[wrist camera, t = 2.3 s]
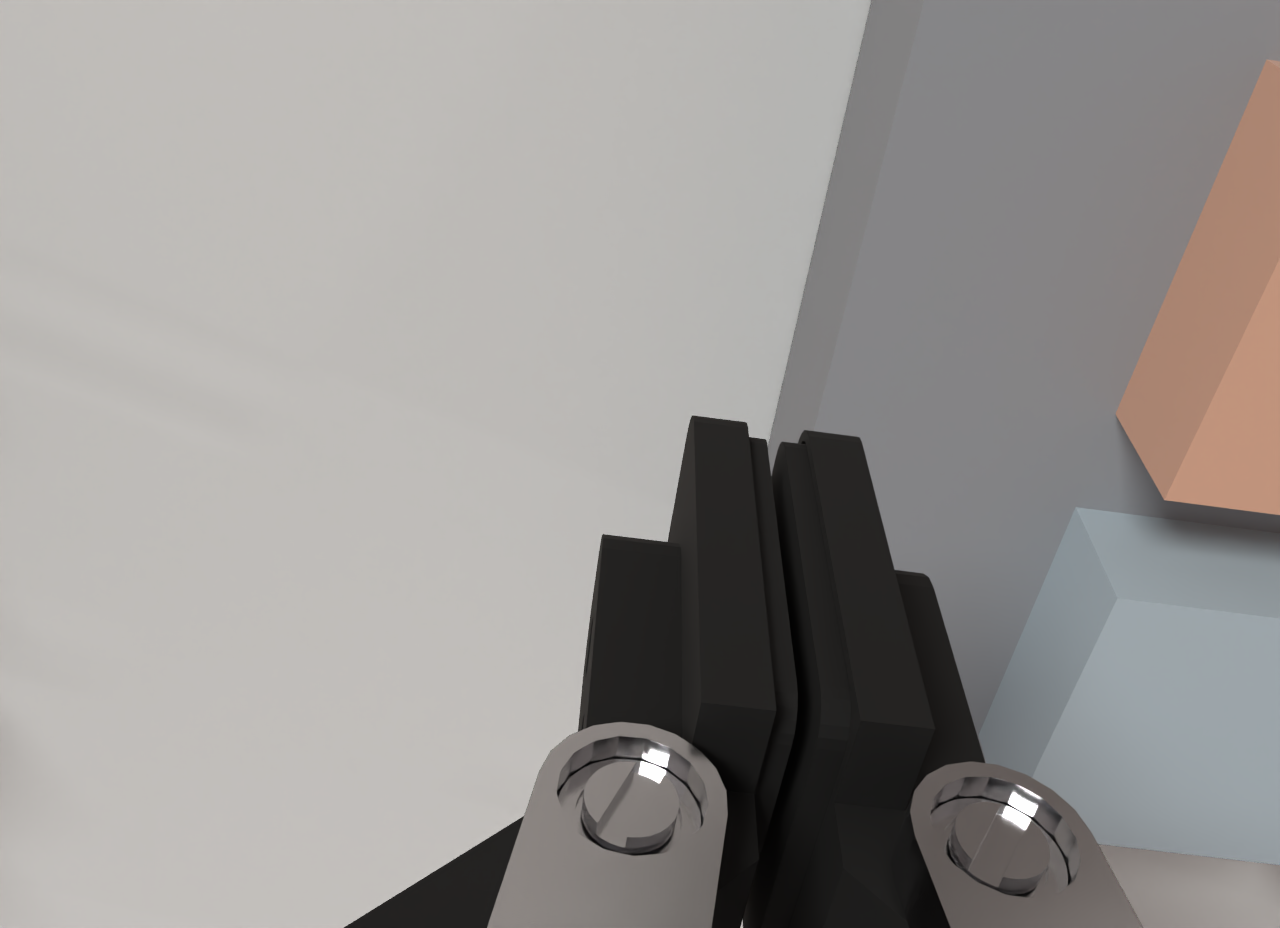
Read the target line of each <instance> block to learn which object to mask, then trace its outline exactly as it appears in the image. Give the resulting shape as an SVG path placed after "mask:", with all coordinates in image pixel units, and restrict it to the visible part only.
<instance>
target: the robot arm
mask: <svg viewBox="0 0 1280 928" xmlns="http://www.w3.org/2000/svg"><path fill="white" fill-rule="evenodd" d="M742 919H743V928H1143V926H1142V925H1141V923H1140V921H1139V919H1138V917H1137V915H1136V913H1135V912H1134V910H1133V908H1132V906H1131V904H1130V902H1129V901H1128V899H1127V897H1126V895H1125V893H1124V891H1123V889H1122V888H1121V886H1120V884H1119V882H1118V880H1117V878H1116V877H1115V875H1114V873H1113V871H1112V869H1111V867H1110V865H1109V864H1108V862H1107V860H1106V858H1105V856H1104V854H1103V853H1102V851H1101V849H1100V847H1099V845H1098V843H1097V841H1096V840H1095V838H1094V836H1093V834H1092V832H1091V831H1090V830H1089V828H1088V827H1087V825H1086V824H1085V823H1084V821H1083V820H1082V819H1081V817H1080V816H1079V814H1078V813H1077V812H1076V810H1075V809H1074V808H1073V807H1071V806H1070V805H1069V804H1068V803H1067V802H1066V801H1065V800H1064V799H1062V798H1061V797H1060V796H1059V795H1058V794H1057V793H1056V792H1054V791H1053V790H1052V789H1050V788H1049V787H1047V786H1045V785H1043V784H1042V783H1040V782H1038V781H1037V780H1035V779H1033V778H1031V777H1030V776H1028V775H1026V774H1023V773H1021V772H1018V771H1015V770H1012V769H1009V768H1006V767H1003V766H1000V765H996V764H988V763H985V760H984V757H983V753H982V750H981V746H980V743H979V740H978V736H977V733H976V730H975V726H974V723H973V719H972V716H971V713H970V709H969V706H968V702H967V699H966V696H965V692H964V689H963V685H962V682H961V679H960V675H959V672H958V668H957V665H956V662H955V658H954V655H953V651H952V648H951V645H950V641H949V638H948V634H947V631H946V628H945V624H944V621H943V618H942V614H941V611H940V607H939V604H938V601H937V597H936V594H935V590H934V587H933V585H932V583H931V581H930V578H929V577H928V576H926V575H925V574H924V573H917V572H908V571H900V570H895V569H894V566H893V562H892V558H891V554H890V550H889V546H888V542H887V538H886V534H885V530H884V526H883V522H882V519H881V515H880V511H879V507H878V503H877V499H876V495H875V491H874V487H873V483H872V479H871V475H870V472H869V468H868V464H867V460H866V456H865V452H864V448H863V444H862V441H861V439H860V437H857V436H849V435H841V434H833V433H825V432H817V431H809V430H804V431H803V432H802V434H801V436H800V438H799V441H798V443H790V442H783V441H782V442H781V443H780V445H779V448H778V451H777V454H776V458H775V463H774V467H773V471H772V476H771V471H770V463H769V455H768V447H767V442H766V440H765V439H759V438H751V437H749V434H748V426H747V423H745V422H739V421H731V420H723V419H715V418H707V417H699V416H692V417H691V420H690V423H689V428H688V433H687V438H686V443H685V449H684V454H683V460H682V465H681V471H680V477H679V482H678V488H677V493H676V499H675V504H674V510H673V515H672V521H671V526H670V532H669V538H668V542H662V541H653V540H645V539H637V538H629V537H621V536H612V535H604V534H603V535H602V539H601V545H600V551H599V558H598V565H597V572H596V579H595V586H594V593H593V600H592V608H591V615H590V623H589V631H588V640H587V648H586V657H585V666H584V676H583V686H582V696H581V707H580V717H579V728H578V732H576V733H574V734H571V735H569V736H568V737H567V738H566V739H564V740H563V741H562V742H561V743H560V744H558V745H557V746H556V747H555V748H554V749H552V750H551V751H550V753H549V755H548V756H547V758H546V760H545V762H544V763H543V765H542V767H541V769H540V770H539V773H538V776H537V779H536V782H535V785H534V788H533V791H532V794H531V797H530V800H529V803H528V806H527V809H526V812H525V815H524V816H523V817H522V818H520V819H519V820H517V821H515V822H514V823H512V824H510V825H509V826H507V827H506V828H504V829H502V830H501V831H499V832H498V833H496V834H494V835H493V836H491V837H489V838H488V839H486V840H485V841H483V842H481V843H480V844H478V845H477V846H475V847H473V848H472V849H470V850H468V851H467V852H465V853H464V854H462V855H460V856H459V857H457V858H456V859H454V860H452V861H451V862H449V863H448V864H446V865H444V866H443V867H441V868H439V869H438V870H436V871H435V872H433V873H431V874H430V875H428V876H427V877H425V878H423V879H422V880H420V881H418V882H417V883H415V884H414V885H412V886H410V887H409V888H407V889H406V890H404V891H402V892H401V893H399V894H397V895H396V896H394V897H393V898H391V899H389V900H388V901H386V902H385V903H383V904H381V905H380V906H378V907H376V908H375V909H373V910H372V911H370V912H368V913H367V914H365V915H364V916H362V917H360V918H359V919H357V920H356V921H354V922H352V923H351V924H349V925H347V926H346V927H344V928H740V926H741V922H742Z"/></svg>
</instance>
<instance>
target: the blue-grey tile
mask: <svg viewBox="0 0 1280 928" xmlns="http://www.w3.org/2000/svg"><path fill="white" fill-rule="evenodd" d="M979 739H980V742H981V746H982V750H983V754H984V757H985V761H986V763H988V764H996V765H1000V766H1003V767H1006V768H1009V769H1012V770H1015V771H1018V772H1021V773H1023V774H1026V775H1028V776H1030V777H1031V778H1033V779H1035V780H1037V781H1038V782H1040V783H1042V784H1043V785H1045V786H1047V787H1049V788H1050V789H1052V790H1053V791H1054V792H1056V793H1057V794H1058V795H1059V796H1060V797H1061V798H1062V799H1064V800H1065V801H1066V802H1067V803H1068V804H1069V805H1070V806H1071V807H1073V808H1074V809H1075V810H1076V812H1077V813H1078V814H1079V816H1080V817H1081V819H1082V820H1083V821H1084V823H1085V824H1086V825H1087V827H1088V828H1089V830H1090V831H1091V832H1092V834H1093V836H1094V838H1095V840H1096V841H1097V843H1098V844H1101V845H1109V846H1118V847H1127V848H1135V849H1144V850H1153V851H1161V852H1170V853H1179V854H1187V855H1196V856H1205V857H1213V858H1222V859H1231V860H1239V861H1248V862H1257V863H1265V864H1274V865H1280V533H1273V532H1265V531H1257V530H1250V529H1242V528H1234V527H1226V526H1219V525H1211V524H1203V523H1195V522H1187V521H1180V520H1172V519H1164V518H1156V517H1149V516H1141V515H1133V514H1125V513H1117V512H1110V511H1102V510H1094V509H1086V508H1079V507H1076V508H1075V510H1074V512H1073V515H1072V517H1071V519H1070V522H1069V524H1068V526H1067V529H1066V531H1065V533H1064V536H1063V538H1062V540H1061V543H1060V545H1059V547H1058V550H1057V552H1056V555H1055V557H1054V559H1053V562H1052V564H1051V566H1050V569H1049V571H1048V573H1047V576H1046V578H1045V580H1044V583H1043V585H1042V587H1041V590H1040V592H1039V594H1038V597H1037V599H1036V601H1035V604H1034V606H1033V608H1032V611H1031V613H1030V616H1029V618H1028V620H1027V623H1026V625H1025V627H1024V630H1023V632H1022V634H1021V637H1020V639H1019V641H1018V644H1017V646H1016V648H1015V651H1014V653H1013V655H1012V658H1011V660H1010V662H1009V665H1008V667H1007V669H1006V672H1005V674H1004V677H1003V679H1002V681H1001V684H1000V686H999V688H998V691H997V693H996V695H995V698H994V700H993V702H992V705H991V707H990V709H989V712H988V714H987V716H986V719H985V721H984V723H983V726H982V728H981V730H980V733H979Z"/></svg>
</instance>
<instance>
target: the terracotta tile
mask: <svg viewBox="0 0 1280 928" xmlns="http://www.w3.org/2000/svg"><path fill="white" fill-rule="evenodd" d="M1116 416H1117V418H1118V420H1119V421H1120V423H1121V425H1122V427H1123V428H1124V430H1125V432H1126V434H1127V435H1128V437H1129V439H1130V441H1131V442H1132V444H1133V446H1134V448H1135V449H1136V451H1137V453H1138V455H1139V456H1140V458H1141V460H1142V462H1143V464H1144V465H1145V467H1146V469H1147V471H1148V472H1149V474H1150V476H1151V478H1152V479H1153V481H1154V483H1155V485H1156V486H1157V488H1158V490H1159V492H1160V493H1161V495H1162V497H1163V499H1164V500H1167V501H1175V502H1183V503H1190V504H1198V505H1206V506H1214V507H1221V508H1229V509H1237V510H1244V511H1252V512H1260V513H1268V514H1275V515H1280V61H1275V60H1268V59H1267V60H1266V62H1265V64H1264V67H1263V69H1262V71H1261V74H1260V76H1259V78H1258V81H1257V83H1256V85H1255V88H1254V90H1253V92H1252V95H1251V97H1250V99H1249V102H1248V104H1247V107H1246V109H1245V111H1244V114H1243V116H1242V118H1241V121H1240V123H1239V125H1238V128H1237V130H1236V132H1235V135H1234V137H1233V139H1232V142H1231V144H1230V146H1229V149H1228V151H1227V153H1226V156H1225V158H1224V160H1223V163H1222V165H1221V168H1220V170H1219V172H1218V175H1217V177H1216V179H1215V182H1214V184H1213V186H1212V189H1211V191H1210V193H1209V196H1208V198H1207V200H1206V203H1205V205H1204V207H1203V210H1202V212H1201V214H1200V217H1199V219H1198V221H1197V224H1196V226H1195V228H1194V231H1193V233H1192V236H1191V238H1190V240H1189V243H1188V245H1187V247H1186V250H1185V252H1184V254H1183V257H1182V259H1181V261H1180V264H1179V266H1178V268H1177V271H1176V273H1175V275H1174V278H1173V280H1172V282H1171V285H1170V287H1169V289H1168V292H1167V294H1166V297H1165V299H1164V301H1163V304H1162V306H1161V308H1160V311H1159V313H1158V315H1157V318H1156V320H1155V322H1154V325H1153V327H1152V329H1151V332H1150V334H1149V336H1148V339H1147V341H1146V343H1145V346H1144V348H1143V350H1142V353H1141V355H1140V357H1139V360H1138V362H1137V365H1136V367H1135V369H1134V372H1133V374H1132V376H1131V379H1130V381H1129V383H1128V386H1127V388H1126V390H1125V393H1124V395H1123V397H1122V400H1121V402H1120V404H1119V407H1118V409H1117V411H1116Z"/></svg>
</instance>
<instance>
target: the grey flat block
mask: <svg viewBox="0 0 1280 928" xmlns="http://www.w3.org/2000/svg"><path fill="white" fill-rule="evenodd" d="M1267 59H1268V60H1275V61H1280V0H872V1H871V5H870V9H869V13H868V18H867V22H866V26H865V31H864V35H863V39H862V44H861V48H860V52H859V57H858V61H857V65H856V69H855V74H854V78H853V82H852V87H851V91H850V95H849V100H848V104H847V108H846V113H845V117H844V121H843V125H842V130H841V134H840V138H839V143H838V147H837V151H836V156H835V160H834V164H833V169H832V173H831V177H830V181H829V186H828V190H827V194H826V199H825V203H824V207H823V212H822V216H821V220H820V225H819V229H818V233H817V238H816V242H815V246H814V250H813V255H812V259H811V263H810V268H809V272H808V276H807V281H806V285H805V289H804V294H803V298H802V302H801V306H800V311H799V315H798V319H797V324H796V328H795V332H794V337H793V341H792V345H791V350H790V354H789V358H788V362H787V367H786V371H785V375H784V380H783V384H782V388H781V393H780V397H779V401H778V406H777V410H776V414H775V418H774V423H773V427H772V431H771V436H770V440H769V444H768V455H769V463H770V471H771V476H772V471H773V467H774V463H775V458H776V454H777V451H778V448H779V445H780V443H781V442H782V441H783V442H790V443H798V441H799V438H800V436H801V434H802V432H803V431H804V430H809V431H817V432H825V433H833V434H841V435H849V436H857V437H860V439H861V441H862V444H863V448H864V452H865V456H866V460H867V464H868V468H869V472H870V475H871V479H872V483H873V487H874V491H875V495H876V499H877V503H878V507H879V511H880V515H881V519H882V522H883V526H884V530H885V534H886V538H887V542H888V546H889V550H890V554H891V558H892V562H893V566H894V569H895V570H900V571H908V572H917V573H924V574H925V575H926V576H928V577H929V578H930V581H931V583H932V585H933V587H934V590H935V594H936V597H937V601H938V604H939V607H940V611H941V614H942V618H943V621H944V624H945V628H946V631H947V634H948V638H949V641H950V645H951V648H952V651H953V655H954V658H955V662H956V665H957V668H958V672H959V675H960V679H961V682H962V685H963V689H964V692H965V696H966V699H967V702H968V706H969V709H970V713H971V716H972V719H973V723H974V726H975V730H976V733H977V736H978V740H979V743H980V746H981V742H980V739H979V733H980V730H981V728H982V726H983V723H984V721H985V719H986V716H987V714H988V712H989V709H990V707H991V705H992V702H993V700H994V698H995V695H996V693H997V691H998V688H999V686H1000V684H1001V681H1002V679H1003V677H1004V674H1005V672H1006V669H1007V667H1008V665H1009V662H1010V660H1011V658H1012V655H1013V653H1014V651H1015V648H1016V646H1017V644H1018V641H1019V639H1020V637H1021V634H1022V632H1023V630H1024V627H1025V625H1026V623H1027V620H1028V618H1029V616H1030V613H1031V611H1032V608H1033V606H1034V604H1035V601H1036V599H1037V597H1038V594H1039V592H1040V590H1041V587H1042V585H1043V583H1044V580H1045V578H1046V576H1047V573H1048V571H1049V569H1050V566H1051V564H1052V562H1053V559H1054V557H1055V555H1056V552H1057V550H1058V547H1059V545H1060V543H1061V540H1062V538H1063V536H1064V533H1065V531H1066V529H1067V526H1068V524H1069V522H1070V519H1071V517H1072V515H1073V512H1074V510H1075V508H1076V507H1079V508H1086V509H1094V510H1102V511H1110V512H1117V513H1125V514H1133V515H1141V516H1149V517H1156V518H1164V519H1172V520H1180V521H1187V522H1195V523H1203V524H1211V525H1219V526H1226V527H1234V528H1242V529H1250V530H1257V531H1265V532H1273V533H1280V515H1275V514H1268V513H1260V512H1252V511H1244V510H1237V509H1229V508H1221V507H1214V506H1206V505H1198V504H1190V503H1183V502H1175V501H1167V500H1164V499H1163V497H1162V495H1161V493H1160V492H1159V490H1158V488H1157V486H1156V485H1155V483H1154V481H1153V479H1152V478H1151V476H1150V474H1149V472H1148V471H1147V469H1146V467H1145V465H1144V464H1143V462H1142V460H1141V458H1140V456H1139V455H1138V453H1137V451H1136V449H1135V448H1134V446H1133V444H1132V442H1131V441H1130V439H1129V437H1128V435H1127V434H1126V432H1125V430H1124V428H1123V427H1122V425H1121V423H1120V421H1119V420H1118V418H1117V416H1116V411H1117V409H1118V407H1119V404H1120V402H1121V400H1122V397H1123V395H1124V393H1125V390H1126V388H1127V386H1128V383H1129V381H1130V379H1131V376H1132V374H1133V372H1134V369H1135V367H1136V365H1137V362H1138V360H1139V357H1140V355H1141V353H1142V350H1143V348H1144V346H1145V343H1146V341H1147V339H1148V336H1149V334H1150V332H1151V329H1152V327H1153V325H1154V322H1155V320H1156V318H1157V315H1158V313H1159V311H1160V308H1161V306H1162V304H1163V301H1164V299H1165V297H1166V294H1167V292H1168V289H1169V287H1170V285H1171V282H1172V280H1173V278H1174V275H1175V273H1176V271H1177V268H1178V266H1179V264H1180V261H1181V259H1182V257H1183V254H1184V252H1185V250H1186V247H1187V245H1188V243H1189V240H1190V238H1191V236H1192V233H1193V231H1194V228H1195V226H1196V224H1197V221H1198V219H1199V217H1200V214H1201V212H1202V210H1203V207H1204V205H1205V203H1206V200H1207V198H1208V196H1209V193H1210V191H1211V189H1212V186H1213V184H1214V182H1215V179H1216V177H1217V175H1218V172H1219V170H1220V168H1221V165H1222V163H1223V160H1224V158H1225V156H1226V153H1227V151H1228V149H1229V146H1230V144H1231V142H1232V139H1233V137H1234V135H1235V132H1236V130H1237V128H1238V125H1239V123H1240V121H1241V118H1242V116H1243V114H1244V111H1245V109H1246V107H1247V104H1248V102H1249V99H1250V97H1251V95H1252V92H1253V90H1254V88H1255V85H1256V83H1257V81H1258V78H1259V76H1260V74H1261V71H1262V69H1263V67H1264V64H1265V62H1266V60H1267ZM981 750H982V746H981ZM982 753H983V750H982ZM983 757H984V754H983ZM984 760H985V757H984ZM985 763H986V761H985Z"/></svg>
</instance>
